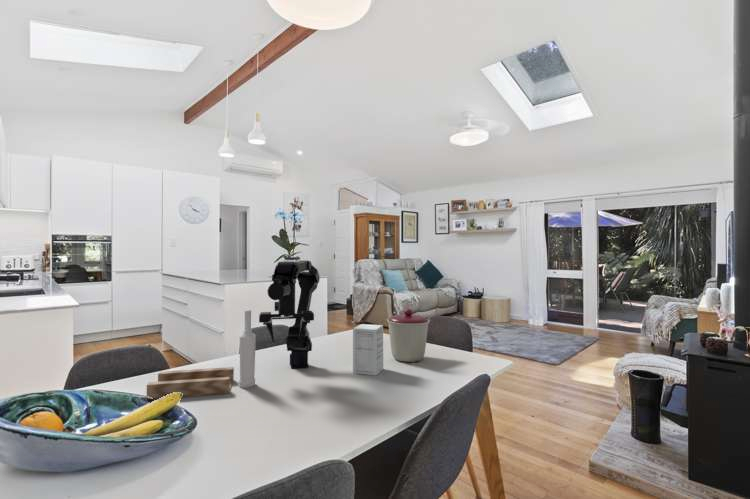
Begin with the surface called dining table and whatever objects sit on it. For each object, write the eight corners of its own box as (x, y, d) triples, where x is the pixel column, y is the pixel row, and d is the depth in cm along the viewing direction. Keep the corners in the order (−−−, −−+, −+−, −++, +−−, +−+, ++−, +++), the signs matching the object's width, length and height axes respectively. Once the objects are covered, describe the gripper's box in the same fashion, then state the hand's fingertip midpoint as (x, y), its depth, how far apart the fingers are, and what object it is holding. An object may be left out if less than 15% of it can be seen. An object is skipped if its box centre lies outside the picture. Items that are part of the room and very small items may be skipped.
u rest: (233, 379, 129) (233, 367, 129) (228, 393, 117) (228, 379, 117) (160, 385, 124) (160, 371, 124) (146, 400, 111) (146, 385, 111)
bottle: (250, 388, 121) (250, 311, 122) (235, 387, 122) (236, 311, 123) (258, 383, 126) (259, 309, 127) (244, 382, 127) (245, 308, 128)
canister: (377, 358, 157) (378, 308, 157) (405, 351, 170) (406, 304, 170) (410, 368, 144) (411, 313, 145) (438, 359, 157) (438, 309, 157)
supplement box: (383, 368, 144) (384, 324, 144) (376, 376, 135) (377, 329, 135) (360, 366, 146) (361, 323, 147) (352, 373, 138) (352, 327, 138)
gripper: (311, 293, 143) (311, 334, 143) (260, 294, 138) (260, 337, 138) (314, 297, 132) (313, 341, 132) (259, 298, 127) (258, 344, 127)
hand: (286, 340), depth 132 cm, fingers open, 9 cm apart
